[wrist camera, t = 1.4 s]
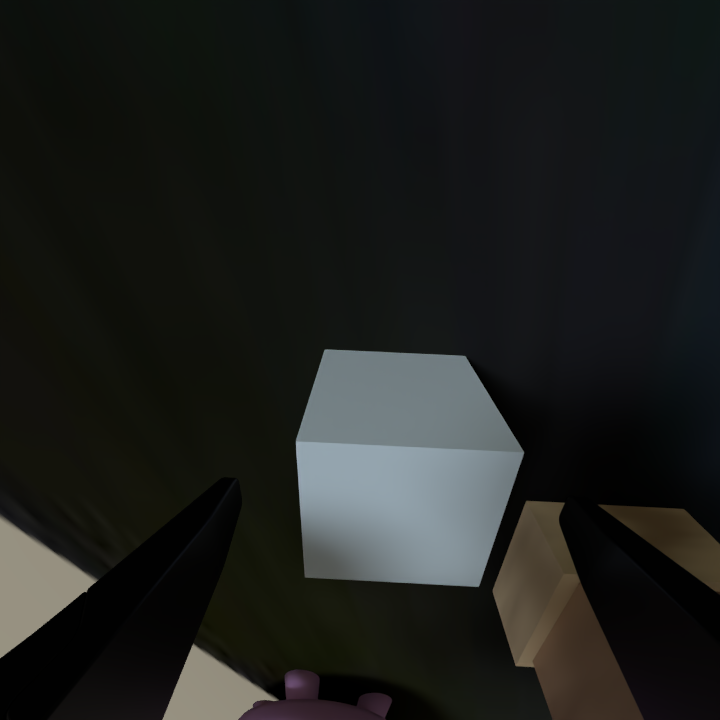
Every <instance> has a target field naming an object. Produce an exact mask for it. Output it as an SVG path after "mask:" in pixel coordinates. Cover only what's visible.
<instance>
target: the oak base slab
mask: <svg viewBox="0 0 720 720" xmlns="http://www.w3.org/2000/svg"><path fill="white" fill-rule="evenodd" d="M564 504H565V503H559V502H540V501H526V503H525V505H524V508H523V511H522V513H521V516H520V519H519V521H518V524H517V527H516V529H515V532H514V535H513V537H512V540H511V543H510V546H509V548H508V551H507V554H506V556H505V559H504V562H503V564H502V567H501V570H500V572H499V575H498V578H497V580H496V583H495V586H494V588H493V594H494V598H495V601H496V604H497V607H498V610H499V614H500V617H501V620H502V623H503V627H504V630H505V633H506V636H507V640H508V643H509V646H510V649H511V652H512V656H513V659H514V662H515V665H516V666H524V667H534V664H533V662H532V661H533V659H534V658H535V656H536V654H537V653H538V651H539V649H540V648H541V646H542V644H543V643H544V641H545V639H546V638H547V636H548V634H549V633H550V631H551V629H552V628H553V626H554V624H555V623H556V621H557V619H558V618H559V616H560V614H561V613H562V611H563V609H564V608H565V606H566V604H567V603H568V601H569V599H570V598H571V596H572V594H573V593H574V591H575V589H576V588H577V586H578V584H579V583H581V582H580V580H579V577H578V575H577V572H576V569H575V566H574V564H573V561H572V558H571V555H570V552H569V550H568V547H567V544H566V541H565V538H564V536H563V533H562V530H561V527H560V524H559V515H560V513H561V510H562V508H563V506H564ZM598 506H600V507H601V508H603V509H604V510H605V511H607V512H608V513H609V514H611V515H612V516H613V517H615V518H616V519H618V520H619V521H620V522H622V523H623V524H624V525H626V526H627V527H628V528H630V529H631V530H632V531H634V532H635V533H637V534H638V535H639V536H641V537H642V538H643V539H645V540H646V541H647V542H649V543H650V544H652V545H653V546H654V547H656V548H657V549H658V550H660V551H661V552H662V553H664V554H665V555H667V556H668V557H669V558H671V559H672V560H673V561H675V562H676V563H677V564H679V565H680V566H681V567H683V568H684V569H686V570H687V571H688V572H690V573H691V574H692V575H694V576H695V577H696V578H698V579H699V580H701V581H702V582H703V583H705V584H706V585H707V586H709V587H710V588H711V589H713V590H714V591H717V592H720V544H719V543H718V542H717V541H716V540H715V539H714V538H713V537H712V536H711V535H710V534H709V533H708V532H707V531H706V530H705V529H704V528H703V527H702V526H701V525H700V524H699V523H698V522H697V521H696V520H695V519H694V518H693V517H692V516H691V515H690V514H689V513H688V512H687V511H685V510H684V509H674V508H655V507H635V506H616V505H598Z"/></svg>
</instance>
